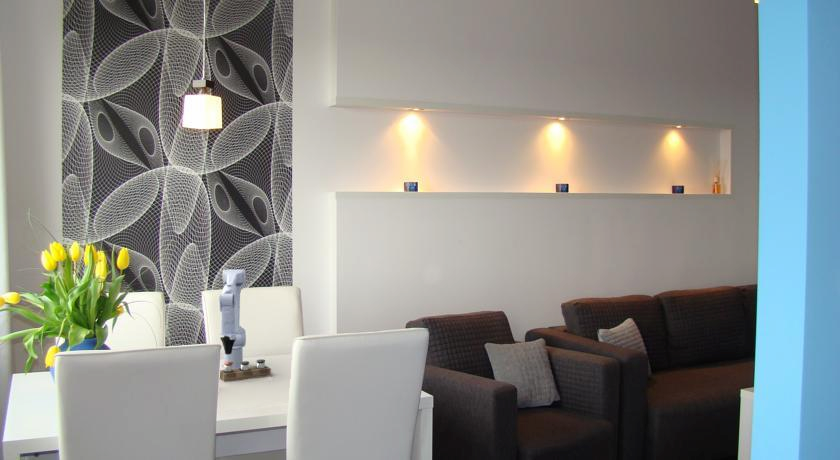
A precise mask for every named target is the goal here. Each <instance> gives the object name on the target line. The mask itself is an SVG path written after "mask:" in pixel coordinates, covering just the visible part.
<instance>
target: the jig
mask: <svg viewBox="0 0 840 460" xmlns="http://www.w3.org/2000/svg"><path fill="white" fill-rule="evenodd" d="M270 376H272V368H270V367H269V366H267V365H265V368H263V369H257V365H255V366H249V370H247V371H241V368H236V369H233V372H230V373H225V369H220V378H219V379H220V380H221V381H223V382H232V381H239V380H247V379H254V378H262V377H270Z"/></svg>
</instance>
